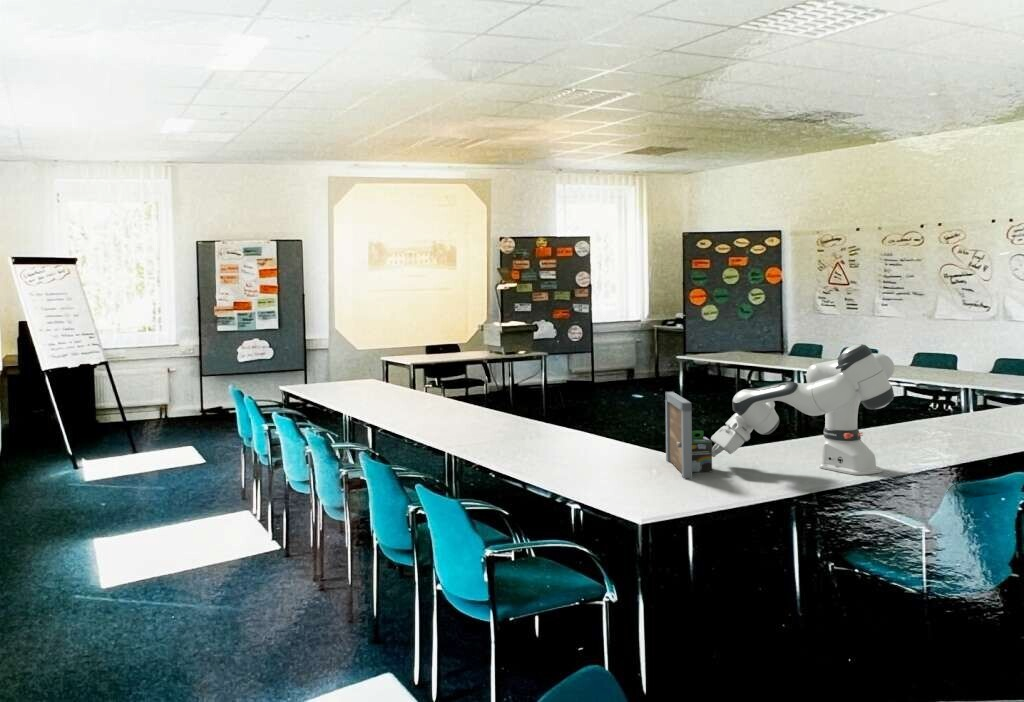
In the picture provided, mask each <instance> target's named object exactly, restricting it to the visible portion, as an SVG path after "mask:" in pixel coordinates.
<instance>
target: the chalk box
mask: <svg viewBox="0 0 1024 702" xmlns="http://www.w3.org/2000/svg"><path fill="white" fill-rule="evenodd" d="M697 434H699V435H698V436H695V435H697ZM704 434H705V433H704V430H692V473H707V472H708V473H709V472H710V473H712V472H713V457H712V448H713V445H712V444H713V443H712V442H713V441H712V440H711V439H709V438H708V437H706V436H704Z"/></svg>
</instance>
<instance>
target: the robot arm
mask: <svg viewBox="0 0 1024 702" xmlns="http://www.w3.org/2000/svg"><path fill="white" fill-rule="evenodd" d="M894 371H895V363H894V361H893V360H892V359H891V357H889V356H888V355H887V354H884V353H878V352H877V353H875V352H874V353H873V351H872V350H871V348H870V347H868V345H866V344H862V343H861V344H854V345H851V346H849V347H847V348H845V349H844V350H843V352H842V353H841V354H840V355H839V357H838V359H833V360H829V361H822V362H817V363H813V364H811V365H810V366H809V367H808V369H807V371H806V374H805V379H806V382H805V383H804V382H803V383H800V382H795V381H784V382H781V383H780V382H779V383H774V384H771V385H770V384H769V385H766V386H761V387H757V388H756V387H755V388H745V389H744V388H743V389H741V390H739V391H737V392H736V393H735V395H734V396H733V398H732V400H731V401H732V406H731V407H732V411H733V412H735V413H734V414H733V415H731V417H730V418H728V420H727V421H726V422H725V425H723V426H721V427H720V428H719V429H718V430H717V431H715V433H714V434H712V435H711V437H710V440H711V441H712V442H713V443H714V445H712V458H715V457H716V456H717V455H718V454H721V453H722V452H723V451H724V452H727V453H728V454H729V455H732V454H733V453H735V451H737V450H738V449H739V448H741V446H742V445H744V443H745V442H748V441H749V440H750V439H751V433H752V432H753V430H754V431H755V432H757V433H758V434H760V435H763V436H764V435H770V434H772V433H773V432H774V431H775V430H777V428H778V427H779V424H780V416H779V415H778V413H777V412H776V410H775V406H776V403H775V402H776V401H778V402H783V403H785V404H787V405H789V406H792V407H794V408H795V409H796V410H798V411H799V412H801V413H802V414H804V415H808V416H813V417H814V416H816V417H817V416H823V415H824V418H825V421H824V423H825V424H824V427H823V437H824V443H823V446H822V451H821V452H822V453H821V461H820V464H819V469H823V470H824V469H825V470H829V471H833V472H837V473H838V472H839V473H843V474H848V475H857V476H861V475H863V476H864V475H873V474H880V473H883V471H884V468H882V467H880V466H877V461H876V456H875V453H874V452H873V451H872V450H871V449H870V448H869V447H868V446H867V444H865V442H864V441H862V436H864V435H863V432H860V431H859V428H858V414H859V408H860V407H859V406H860V404H862V406H863V407H864V408H865V409H867V410H878V409H879V410H880V409H882V408H885V407H887V405H889V404H890V403H891V402H892V401H894V398H895V394H894V393H895V392H894V388H893V386H892V385H891V384H890V381H889V380H890V379H891V377H893V375H894V373H895V372H894Z"/></svg>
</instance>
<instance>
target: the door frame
mask: <svg viewBox="0 0 1024 702" xmlns="http://www.w3.org/2000/svg"><path fill="white" fill-rule="evenodd" d="M664 393H665V394H664V395H665V400H664V401H665V411H664V412H665V460H666V461H667V462H668V463H669V462H670V463H672V462H671V461H670V403H671V404H673V405H674V406H676V407H677V408H678V409H680V410H681V438H682V473H681V478H682V477H683V478H692V479H693V472H692V431H693V430H692V429H693V426H692V425H693V424H692V422H693V421H692V420H693V419H692V418H693V416H692V413H693V412H692V411H693V410H692V406H693V405H692V402H691V401H689V400H688V399H686V398H684V397H683V396H681V395H679V394H677V393H675V392H674V391H665V392H664ZM683 478H682V479H683Z"/></svg>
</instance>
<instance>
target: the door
mask: <svg viewBox="0 0 1024 702" xmlns="http://www.w3.org/2000/svg"><path fill="white" fill-rule="evenodd" d="M670 461H671V462H670V463H672V464H673V466H674V467H676V468H677V469H678V471H679V472H680V473H681V474H682V438H681V410H680V409H678V408H677V407H676V406H674V405H673V404H671V403H670Z"/></svg>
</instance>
